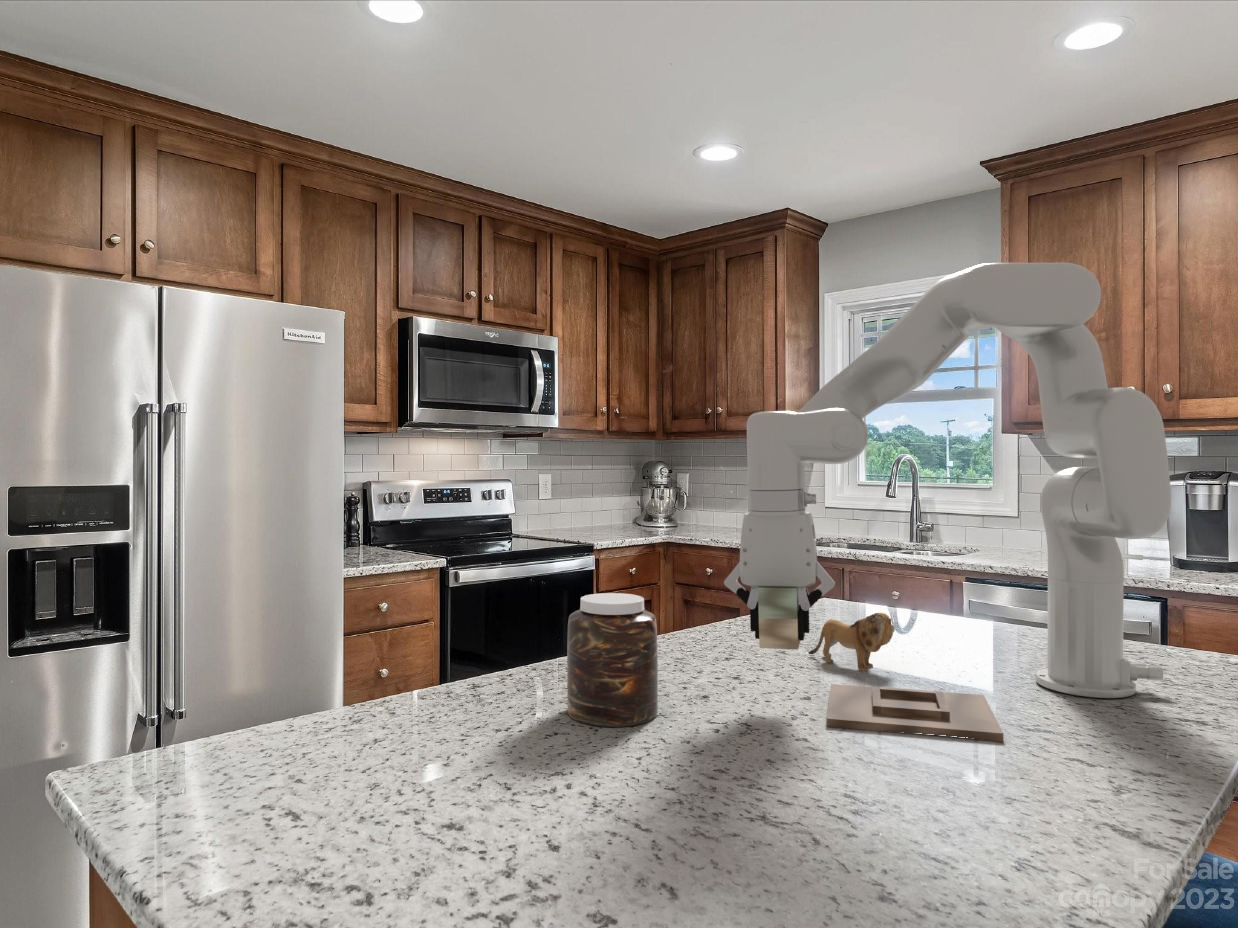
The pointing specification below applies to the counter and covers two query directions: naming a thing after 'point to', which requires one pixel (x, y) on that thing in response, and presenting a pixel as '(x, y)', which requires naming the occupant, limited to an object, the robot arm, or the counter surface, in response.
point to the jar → (612, 661)
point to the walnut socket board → (912, 712)
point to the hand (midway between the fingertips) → (780, 636)
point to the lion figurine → (857, 637)
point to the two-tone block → (778, 618)
